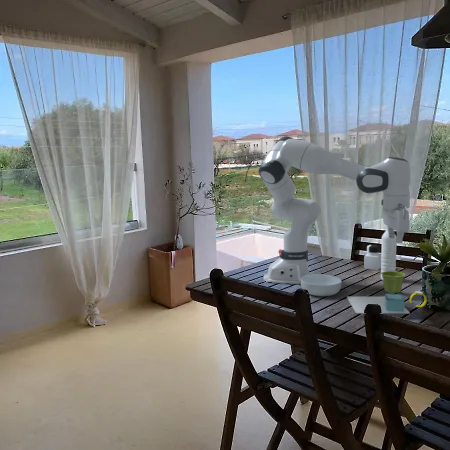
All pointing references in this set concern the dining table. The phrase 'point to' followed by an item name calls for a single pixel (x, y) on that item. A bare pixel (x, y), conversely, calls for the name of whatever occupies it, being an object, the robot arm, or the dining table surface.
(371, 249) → the medicine bottle
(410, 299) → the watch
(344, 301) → the dining table surface
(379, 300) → the post base
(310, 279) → the cereal bowl
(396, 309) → the teal square box
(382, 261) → the water bottle
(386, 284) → the plant pot
